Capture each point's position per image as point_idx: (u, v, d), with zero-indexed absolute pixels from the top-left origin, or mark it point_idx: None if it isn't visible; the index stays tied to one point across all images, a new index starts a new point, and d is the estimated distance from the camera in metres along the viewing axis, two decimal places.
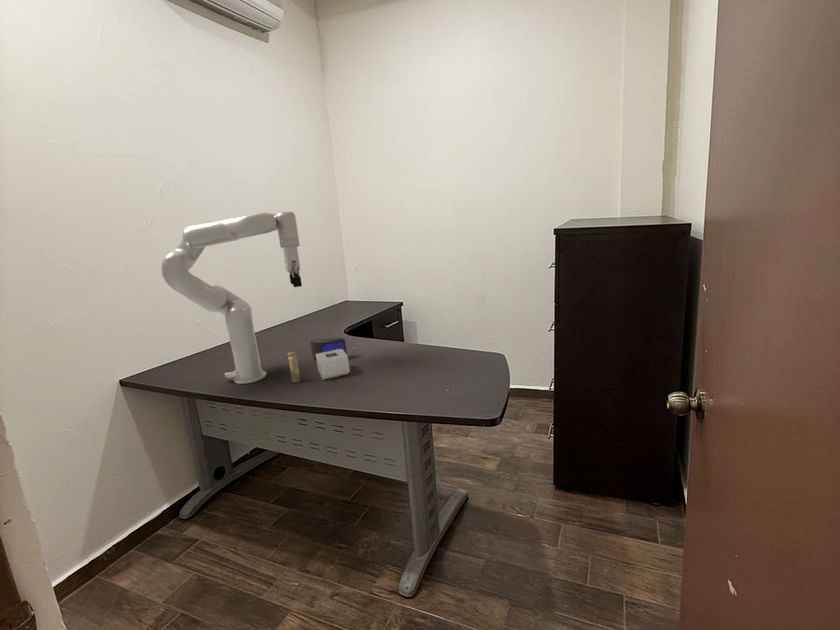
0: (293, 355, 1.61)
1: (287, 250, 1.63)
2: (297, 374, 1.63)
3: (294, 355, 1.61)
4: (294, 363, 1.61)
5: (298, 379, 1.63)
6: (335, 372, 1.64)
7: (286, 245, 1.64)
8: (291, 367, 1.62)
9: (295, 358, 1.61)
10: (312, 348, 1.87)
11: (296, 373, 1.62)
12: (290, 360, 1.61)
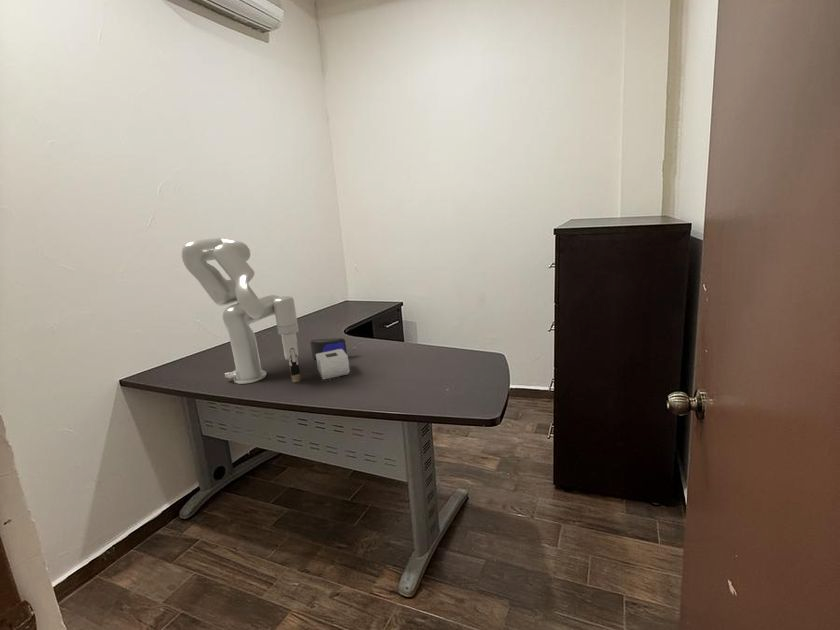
0: None
1: (285, 338, 1.55)
2: None
3: None
4: None
5: (298, 379, 1.63)
6: (335, 372, 1.64)
7: (284, 332, 1.56)
8: None
9: None
10: (312, 348, 1.87)
11: None
12: None
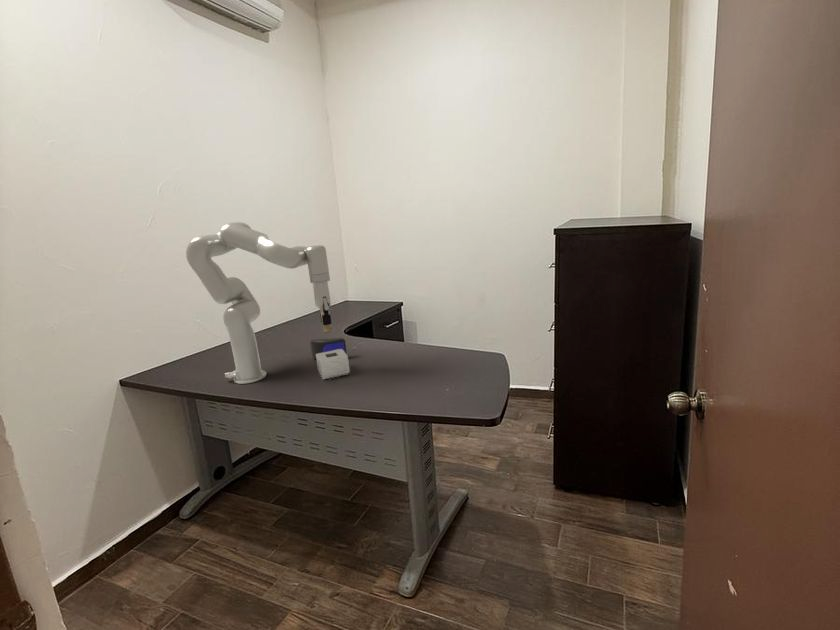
0: None
1: (318, 286, 1.56)
2: (329, 324, 1.64)
3: None
4: None
5: (330, 329, 1.64)
6: (335, 372, 1.64)
7: (317, 280, 1.57)
8: None
9: None
10: (312, 348, 1.87)
11: None
12: None
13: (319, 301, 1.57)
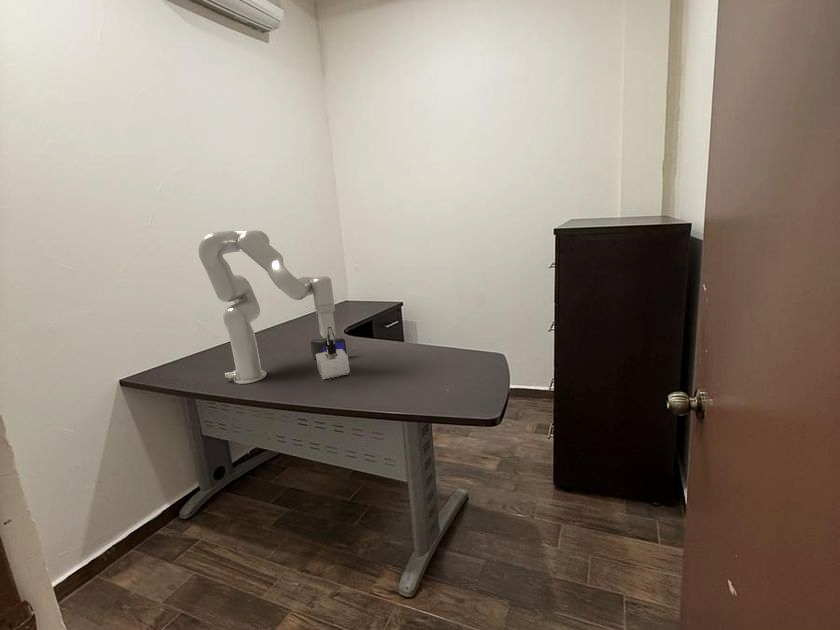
0: None
1: (323, 316, 1.59)
2: None
3: None
4: None
5: None
6: (335, 372, 1.64)
7: (322, 311, 1.60)
8: None
9: None
10: (312, 348, 1.87)
11: None
12: None
13: (324, 331, 1.60)
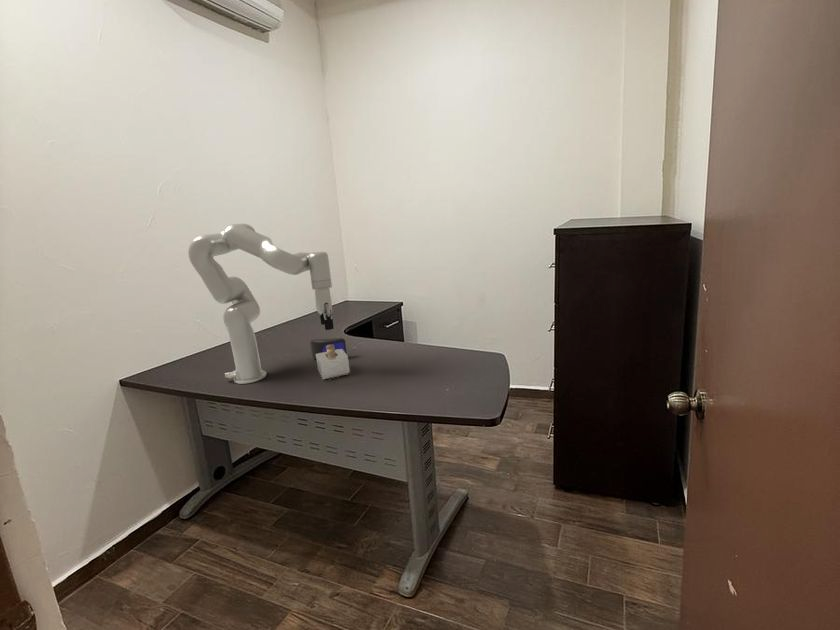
0: (331, 348, 1.66)
1: (320, 292, 1.57)
2: None
3: (332, 348, 1.66)
4: (332, 356, 1.66)
5: None
6: (335, 372, 1.64)
7: (318, 287, 1.57)
8: None
9: (333, 351, 1.67)
10: (312, 348, 1.87)
11: None
12: (329, 353, 1.66)
13: (321, 307, 1.58)
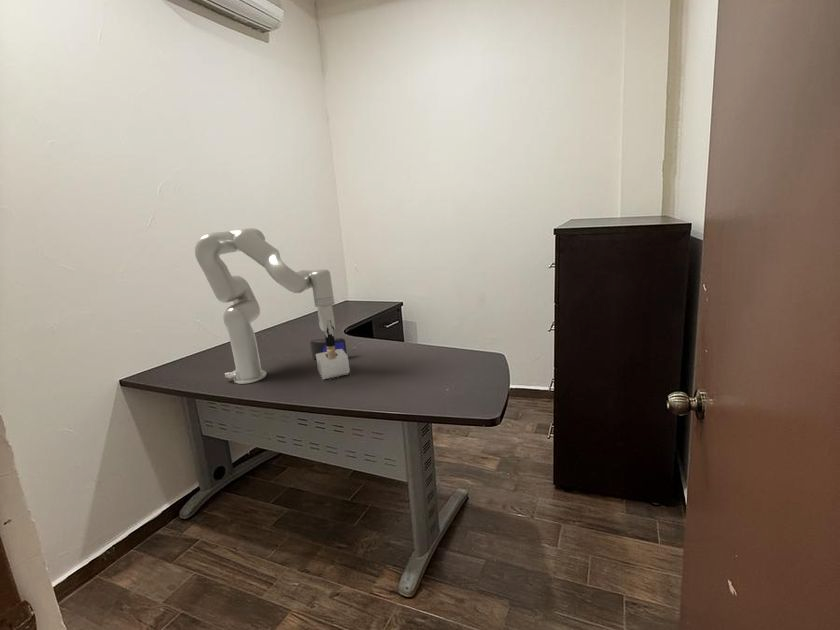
0: (332, 348, 1.66)
1: (322, 310, 1.59)
2: None
3: (333, 348, 1.66)
4: (332, 356, 1.66)
5: None
6: (335, 372, 1.64)
7: (321, 304, 1.59)
8: None
9: (334, 351, 1.67)
10: (312, 348, 1.87)
11: None
12: (329, 353, 1.66)
13: (324, 325, 1.59)
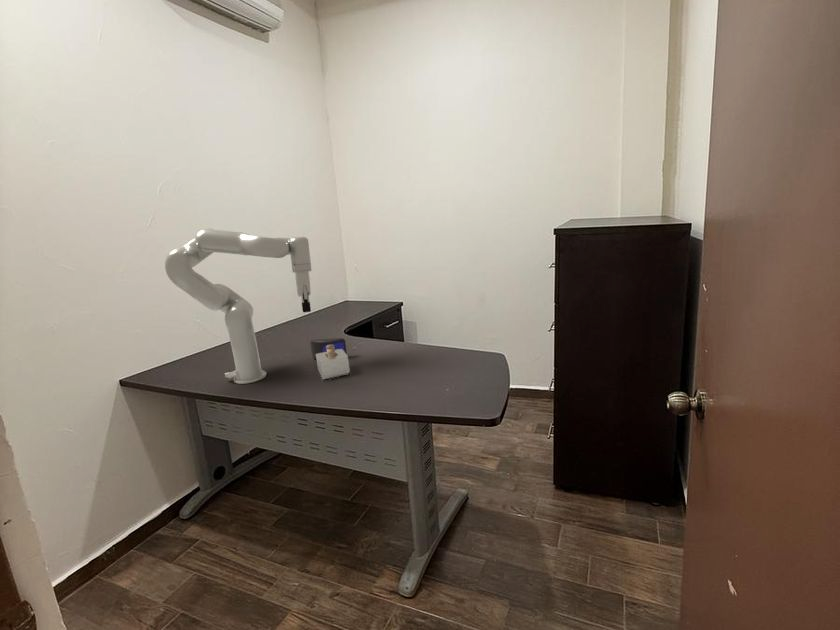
0: (332, 348, 1.66)
1: (298, 275, 1.65)
2: None
3: (332, 348, 1.66)
4: (332, 356, 1.66)
5: None
6: (335, 372, 1.64)
7: (298, 270, 1.65)
8: None
9: (333, 351, 1.67)
10: (312, 348, 1.87)
11: None
12: (329, 353, 1.66)
13: (299, 290, 1.65)
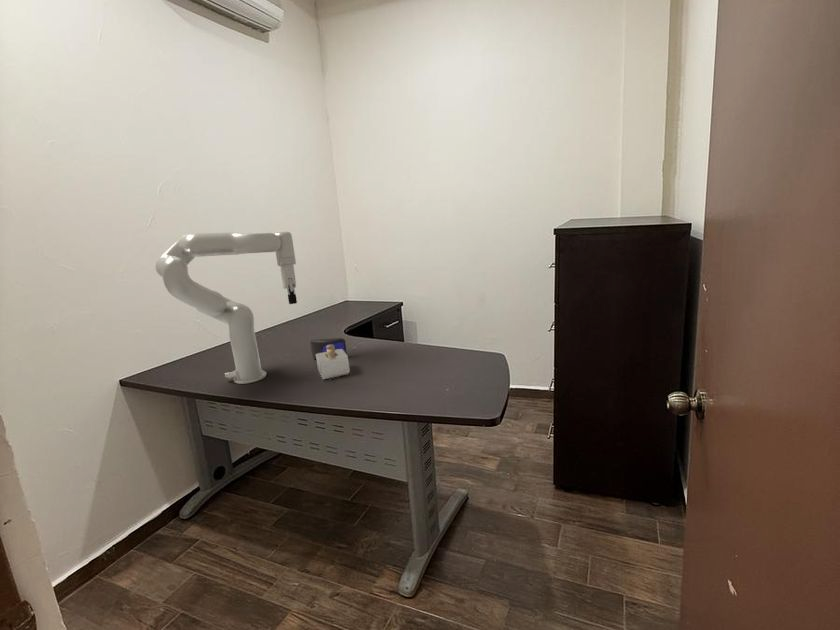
0: (332, 348, 1.66)
1: (284, 268, 1.72)
2: None
3: (332, 348, 1.66)
4: (332, 356, 1.66)
5: None
6: (335, 372, 1.64)
7: (283, 263, 1.73)
8: None
9: (333, 351, 1.67)
10: (312, 348, 1.87)
11: None
12: (329, 353, 1.66)
13: (285, 282, 1.73)
